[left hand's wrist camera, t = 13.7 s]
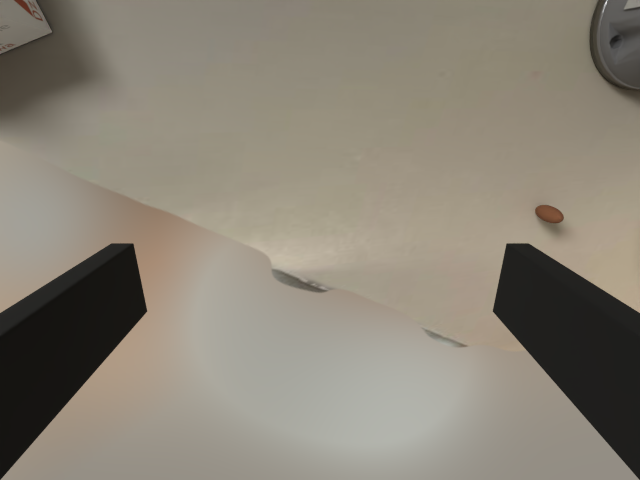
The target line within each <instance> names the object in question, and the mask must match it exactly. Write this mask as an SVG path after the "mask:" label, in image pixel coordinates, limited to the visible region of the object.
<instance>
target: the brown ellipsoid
mask: <svg viewBox="0 0 640 480" xmlns="http://www.w3.org/2000/svg"><path fill="white" fill-rule="evenodd" d="M535 212H536V214H537V216H538V217H539V218H541V219H542V220H544V221H547V222H550V223H559V222H561V221H563V219H564V216H563V214H562V213H561V212H560V211H559V210H558V209H556V208H554V207H552V206H548V205H541V206H538V207H537V208H536V209H535Z"/></svg>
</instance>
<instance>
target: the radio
mask: <svg viewBox="0 0 640 480" xmlns="http://www.w3.org/2000/svg"><path fill="white" fill-rule="evenodd" d="M49 33H52V30H51V29H50V27H49V25H48V23H47V21H46V19H45V17H44V15H43V13H42V11H41V9H40V8H39V6H38V4H37V2H36V0H0V54H1V53H4V52H6V51H8V50H11V49H13V48H16V47H18V46H20V45H23V44H25V43H28V42H30V41H32V40H35V39H37V38H40V37H42V36H45V35H47V34H49Z"/></svg>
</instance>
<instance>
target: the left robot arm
mask: <svg viewBox="0 0 640 480" xmlns="http://www.w3.org/2000/svg"><path fill="white" fill-rule="evenodd" d="M590 48H591V53H592V57H593V60H594V63H595V65H596V67H597V69H598V70H599V72H600V73H601V74H602V75H603V77H604V78H606V79H607V80H608V81H609V82H611V83H612V84H614V85H616V86H618V87H621V88H624V89H630V90H640V0H598V3H597V5H596V8H595V11H594V14H593V18H592V22H591V28H590ZM146 312H147V308H146V303H145V298H144V294H143V289H142V284H141V279H140V274H139V269H138V264H137V259H136V254H135V249H134V244H110V245H108V246H107V247H105V248H104V249H102V250H100V251H99V252H97V253H96V254H94V255H92V256H91V257H89V258H88V259H86V260H84V261H83V262H81V263H80V264H78V265H76V266H75V267H73V268H72V269H70V270H68V271H67V272H65V273H64V274H62V275H60V276H59V277H57V278H56V279H54V280H52V281H51V282H49V283H48V284H46V285H45V286H43V287H41V288H40V289H38V290H37V291H35V292H33V293H32V294H30V295H29V296H27V297H25V298H24V299H22V300H21V301H19V302H17V303H16V304H14V305H13V306H11V307H9V308H8V309H6V310H5V311H3V312H1V313H0V480H1V478H2V477H3V476H4V475H5V474H6V473H7V471H8V470H9V469H10V468H11V467H12V466H13V465H14V463H15V462H16V461H17V460H18V459H19V458H20V457H21V455H22V454H23V453H24V452H25V451H26V450H27V449H28V447H29V446H30V445H31V444H32V443H33V442H34V441H35V439H36V438H37V437H38V436H39V435H40V434H41V433H42V431H43V430H44V429H45V428H46V427H47V426H48V424H49V423H50V422H51V421H52V420H53V419H54V418H55V416H56V415H57V414H58V413H59V412H60V411H61V410H62V408H63V407H64V406H65V405H66V404H67V403H68V402H69V400H70V399H71V398H72V397H73V396H74V395H75V394H76V392H77V391H78V390H79V389H80V388H81V387H82V386H83V384H84V383H85V382H86V381H87V380H88V379H89V377H90V376H91V375H92V374H93V373H94V372H95V371H96V369H97V368H98V367H99V366H100V365H101V364H102V363H103V361H104V360H105V359H106V358H107V357H108V356H109V354H110V353H111V352H112V351H113V350H114V349H115V348H116V347H117V345H118V344H119V343H120V342H121V341H122V340H123V338H124V337H125V336H126V335H127V334H128V333H129V332H130V330H131V329H132V328H133V327H134V326H135V325H136V323H137V322H138V321H139V320H140V319H141V318H142V317H143V315H144V314H145V313H146ZM493 312H494V313H495V314H496V316H497V317H498V318H499V319H500V320H501V321H502V322H503V324H504V325H505V326H506V327H507V328H508V329H509V330H510V332H511V333H512V334H513V335H514V336H515V337H516V338H517V340H518V341H519V342H520V343H521V344H522V345H523V347H524V348H525V349H526V350H527V351H528V352H529V353H530V354H531V356H532V357H533V358H534V359H535V360H536V361H537V363H538V364H539V365H540V366H541V367H542V368H543V369H544V371H545V372H546V373H547V374H548V375H549V376H550V377H551V379H552V380H553V381H554V382H555V383H556V384H557V386H558V387H559V388H560V389H561V390H562V391H563V392H564V394H565V395H566V396H567V397H568V398H569V399H570V400H571V401H572V403H573V404H574V405H575V406H576V407H577V408H578V410H579V411H580V412H581V413H582V414H583V415H584V416H585V418H586V419H587V420H588V421H589V422H590V423H591V425H592V426H593V427H594V428H595V429H596V430H597V431H598V433H599V434H600V435H601V436H602V437H603V438H604V439H605V441H606V442H607V443H608V444H609V445H610V446H611V447H612V449H613V450H614V451H615V452H616V453H617V454H618V455H619V457H620V458H621V459H622V460H623V461H624V462H625V464H626V465H627V466H628V467H629V468H630V469H631V470H632V471H633V473H634V474H635V475H636V476H637V477H638V478H639V480H640V313H639V312H637V311H635V310H634V309H632V308H631V307H629V306H627V305H626V304H624V303H623V302H621V301H619V300H618V299H616V298H615V297H613V296H611V295H610V294H608V293H607V292H605V291H603V290H602V289H600V288H599V287H597V286H595V285H594V284H592V283H591V282H589V281H588V280H586V279H584V278H583V277H581V276H580V275H578V274H576V273H575V272H573V271H572V270H570V269H568V268H567V267H565V266H564V265H562V264H560V263H559V262H557V261H556V260H554V259H552V258H551V257H549V256H548V255H546V254H544V253H543V252H541V251H540V250H538V249H536V248H535V247H533V246H532V245H530V244H506V249H505V254H504V259H503V264H502V269H501V274H500V279H499V284H498V289H497V294H496V298H495V303H494V308H493Z"/></svg>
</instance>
